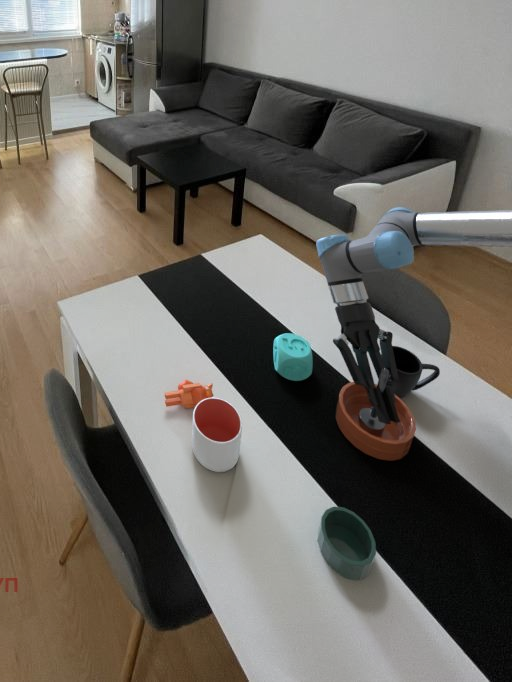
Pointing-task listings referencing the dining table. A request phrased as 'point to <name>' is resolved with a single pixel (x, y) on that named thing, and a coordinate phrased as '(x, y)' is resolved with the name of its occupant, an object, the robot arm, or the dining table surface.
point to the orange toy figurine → (188, 394)
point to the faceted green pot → (346, 543)
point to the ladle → (369, 415)
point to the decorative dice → (292, 357)
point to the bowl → (382, 446)
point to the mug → (410, 372)
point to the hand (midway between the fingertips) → (389, 421)
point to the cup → (216, 434)
